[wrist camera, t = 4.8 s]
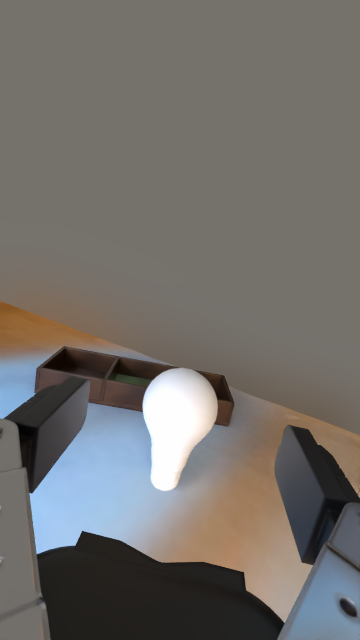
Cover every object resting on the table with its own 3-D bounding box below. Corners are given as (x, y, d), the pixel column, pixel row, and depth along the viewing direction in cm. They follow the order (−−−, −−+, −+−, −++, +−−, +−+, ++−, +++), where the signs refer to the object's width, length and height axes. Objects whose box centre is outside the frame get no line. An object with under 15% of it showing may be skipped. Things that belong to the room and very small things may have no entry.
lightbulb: (118, 468, 26) (138, 356, 24) (176, 456, 30) (198, 356, 27) (143, 527, 21) (171, 393, 19) (210, 505, 24) (241, 387, 22)
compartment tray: (34, 392, 36) (36, 368, 35) (61, 366, 44) (63, 346, 43) (228, 426, 37) (234, 403, 36) (219, 394, 45) (224, 375, 44)
